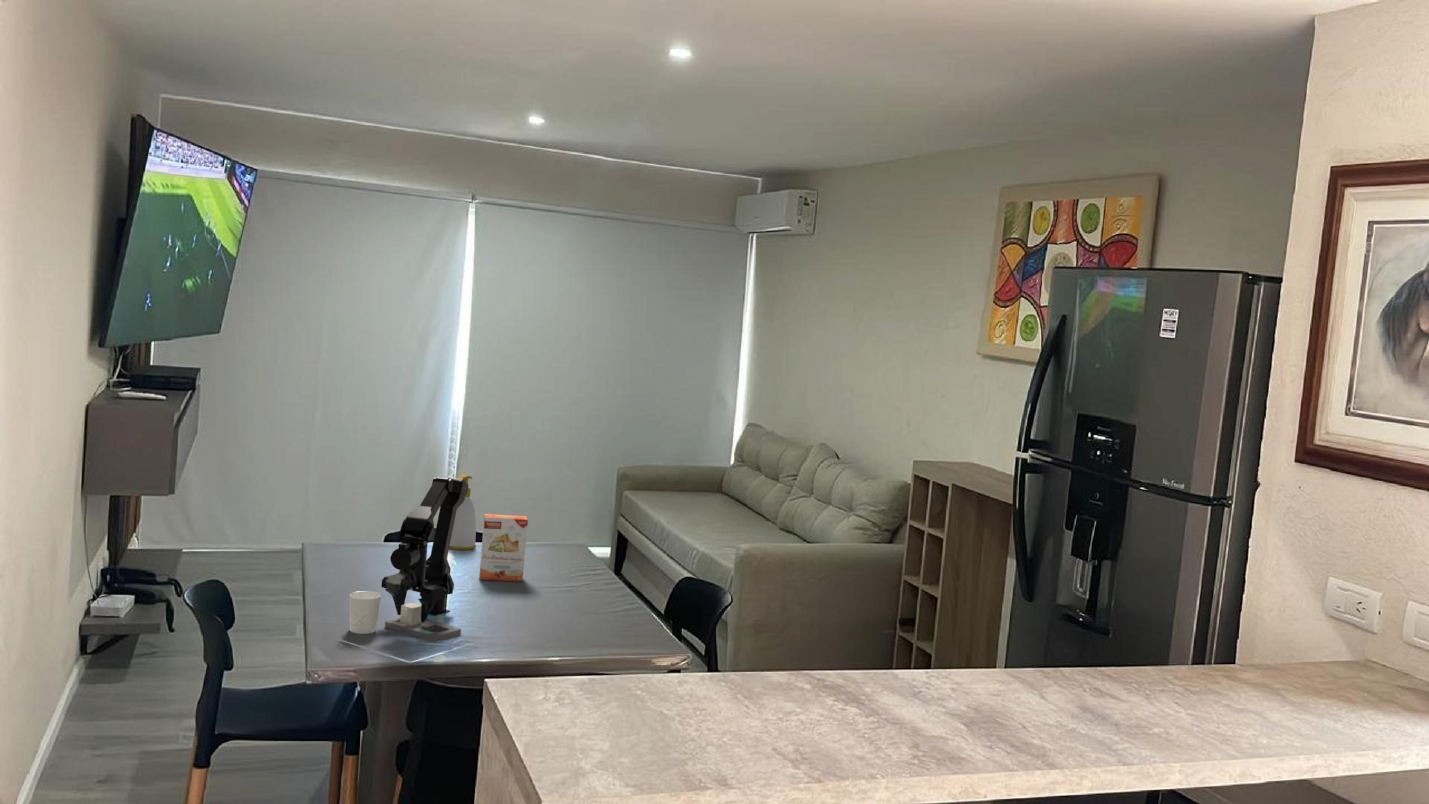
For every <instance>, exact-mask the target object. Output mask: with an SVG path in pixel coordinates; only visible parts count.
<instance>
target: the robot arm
mask: <svg viewBox="0 0 1429 804" xmlns="http://www.w3.org/2000/svg"><path fill="white" fill-rule="evenodd" d="M468 487H469V482H468V483H466V482H465V479H459V477H450V476H435V477H433V479H432V483H431V486H430V488H429V490H428V491H427V492H426V495H425V496H424V498H423V499H422V501H421V502H420V504H419V506H418V508H415V509H412V510H411V511H409V513H408V514H407V516H406V517H405V519H403V521H402V523H401V526H400V529H399V532H398V535H397V538H396V542H397V543H399V544H398V548H395V550H393V551H392V553H391V555H390V557H389V558H390V562H391V565H392V566H393V568H395V569H396V570H399V572H396V573H394V574H391V575H387V576H383V578H382V580H381V588H383V589H385V592H386V593H389V595H391V598H392V600H393V603H394V607H395V610H396V614H397V615H398V616H401V605H404V604H406V603H405V602H406V598H407V594H408V591H412V592H416V593H419V596H420V598H418V601H419V602H420V605H421V622H425V620H426V619H428V616H429V615H431V616H435V617H436V616H440V615H442V614H443V615H444V614H447V613H450V612H451V610H449V609H447V603H448V595H452V594H453V593H454V589H455V587H454V586H455V582H454V580H453V577H452V575H451V566H450V563H449V561H448V555H449V551H450V549H449V546H450V541H451V536H452V531H453V526H454V521H455V516H456V511H457V509H458V508H459V507H460V505H461V504H462V503H463V502H464V500H465V496H466V495H467V493H468ZM438 511H439V512H438ZM437 512H438V517H437V522H436V527H435V522H434V519H435V516H436V514H437ZM434 530H435V533H434ZM433 533H434V537H433V542H432V546H431V552H430V556H429V557H427V556H428V544H429V543H430V540H431V538H432V535H433Z"/></svg>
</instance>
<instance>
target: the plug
mask: <svg viewBox="0 0 1429 804" xmlns="http://www.w3.org/2000/svg"><path fill="white" fill-rule="evenodd" d="M399 618H400V623H404V624H407V625H410V626H412V625H416V624H420V623H422V622H421V604H419V603H418V604H417V603H414V602H409V603H404V605H401V615H399Z"/></svg>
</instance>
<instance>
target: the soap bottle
mask: <svg viewBox="0 0 1429 804" xmlns="http://www.w3.org/2000/svg"><path fill="white" fill-rule="evenodd" d="M458 478H459V479H465V482H466V483H468V484H469V479H470V480H473V477H472V476H470V475H465V474H464V475H463V474H461V475H459V476H458ZM471 491H472V488H471V487H470V486H468V493H467V495H466V496H465V500H464V502H463V503H462V504H461V505H460V507H459V508H458V509H457V511H456V516H455V521H454V526H453V531H452V536H451V541H450V546H449V550H453V551H454V550H455V551H468V550H469V551H470V550H474V549H475V548H476V546H477V544H476V536H477V534H476V533H477V531H476V530H477V529H476V528H477V526H476V525H477V522H476V509H475V505H474V501H473V498H472V497H471Z"/></svg>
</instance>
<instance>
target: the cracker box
mask: <svg viewBox="0 0 1429 804" xmlns="http://www.w3.org/2000/svg"><path fill="white" fill-rule="evenodd" d="M483 518H484V519H483V529H482V542H481V552H480V554H481V555H480V562H479V563H480V564H479V573H478V574H479V577H478V578H479V579H478V580H480V581H482V580H483V581H500V582H501V581H502V582H519V583H522V582H523V579H524V578H523V577H524V569H525V568H524V567H525V556H526V545H527V534H528V524H529V519H528V516H527V515H511V514H510V515H509V514H496V513H495V514H493V513H484V517H483Z"/></svg>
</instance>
